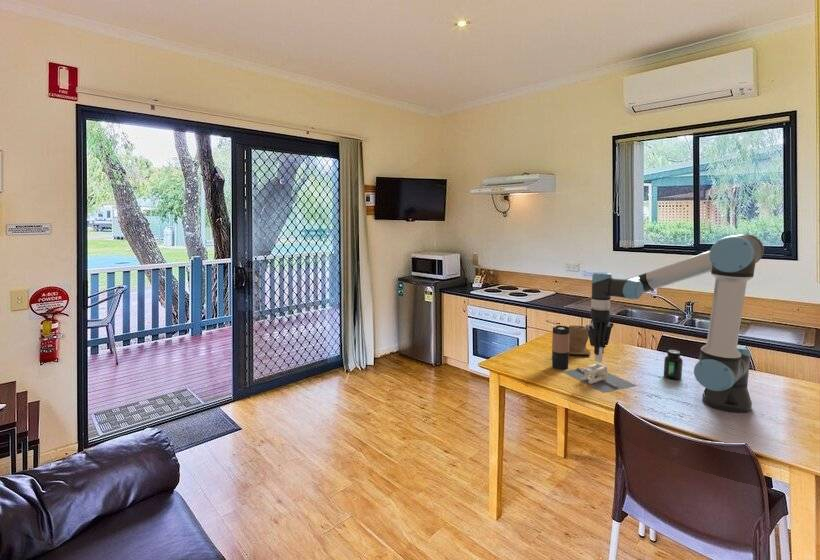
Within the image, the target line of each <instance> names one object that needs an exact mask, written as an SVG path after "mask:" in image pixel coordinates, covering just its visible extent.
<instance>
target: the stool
mask: <svg viewBox="0 0 820 560" xmlns="http://www.w3.org/2000/svg"><path fill="white" fill-rule="evenodd" d="M593 368H596V369H594V370H591V369H593ZM581 371H582V372H584V373H585V377H582V380H583V381H585V380H589V384H593V383H596V382H599V381H601V380H604V379H606V380H607V379H608V374H607V373H608V366H607V365H604V364H602V363H601V362H600V363H599V362H597V361H595V363H594V364H593V363H592V364H590V365H588V366H585V367H581ZM596 376H600V377H598V378H595V377H596Z"/></svg>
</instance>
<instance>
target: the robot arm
mask: <svg viewBox="0 0 820 560" xmlns="http://www.w3.org/2000/svg"><path fill="white" fill-rule="evenodd" d="M764 248H765V247H764V244H763V242H762V241H761V239H759V238H758V237H756V236H754V235H753V234H748V233H741V234H740V233H739V234H735V235H734V234H732V235H727V236H724V237H722V238H720V239H719V240H717V241H715V243H713V244H712V246H711V248H710V249H709V250H707V251H705V252H702V253H699V254H697V255H694V256H691V257H688V258H686V259H681V260H680V261H677V262H673V263H669V265H665V266H662V267H659V268H656V269H654V270H651V271H647V272H645V273H642V274H638V275H635V276H633V277H628V278H614V277H613V276H612V273H611V272H607V271H597V272H594V273H593V274H592V275H591V277H592V278H591V282H590V283H591V296H590V297H591V298H590V300H591V301H590V307H591V308H590V317H591V320H590V324H586V326H585V327H586V328H587V330H588V334H589V338H588V340H589V345H590V346H591V347H594V349H593V350H594V351H593V352H594V353H593V354H594V361H595V362H598V363H600V364H601V363H603V356H604V353H605V352H604V351H605V348H606V347H607V346H608V345H609V341H610V337H611V333H612V332H611V331H612V328H613V327H614V325H615V324H614V323H613V322H610V317H611V309H610V308H611V298H612V297H614V298H616V297H617V298H622V299H628V300H639V299H640V298H641V297H642V296H643V294H645V293H648V292H650V291H654V290H656V289H659V288H663V287H666V286H669V285H673V284H675V283H680V282H682V281H687V280H690V279H692V278H695V277H696V278H697V277H698V276H702V275H705V274H708V273H710V274H711V275H712V276H713V277H714V279H715V280H714V282H715V283H714V287H713V288H714V289H713V294H712V295H713V296H712V303H711V311H710V317H709V325H708V330H707V339H706V344H704V345H703V346H701V347H700V352H699V359H698V360H699V361H697V363H696V364H695V366H694V368H693V375H694V378H695V379H696V381H697V382H698V383H699V384H700V385H701V386H702V387H704V390H703V391H702V398H701V400H702V402H703V401H704V402H705V403H704V402H703V403H704V404H705V405H707V404H708V405H707V406H709V405H710V406H709V407H711V408H714V409H717V410H720V411H725V412H730V413H747V412H750V411H751V410H752V409H753V408H752V407H753V403H752V402H753V401H752V399H751V396H750V392H749V388H748V385H749V375H750V361H751V358H752V356H751V350H750V349H749V348H748V347H745V346H741V345H738V342H739V335H740V330H741V323H742V315H743V310H744V309H743V308H744V304H745V303H744V301H745V295H746V290H747V289H746V288H747V284H748V283H747V282H748V281H750V280H752V279H753V278H754V276H755V269H756V264H757V263H759V262H760V260H761V259H762V257H763V255H764V252H765V251H764V250H765V249H764Z"/></svg>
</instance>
